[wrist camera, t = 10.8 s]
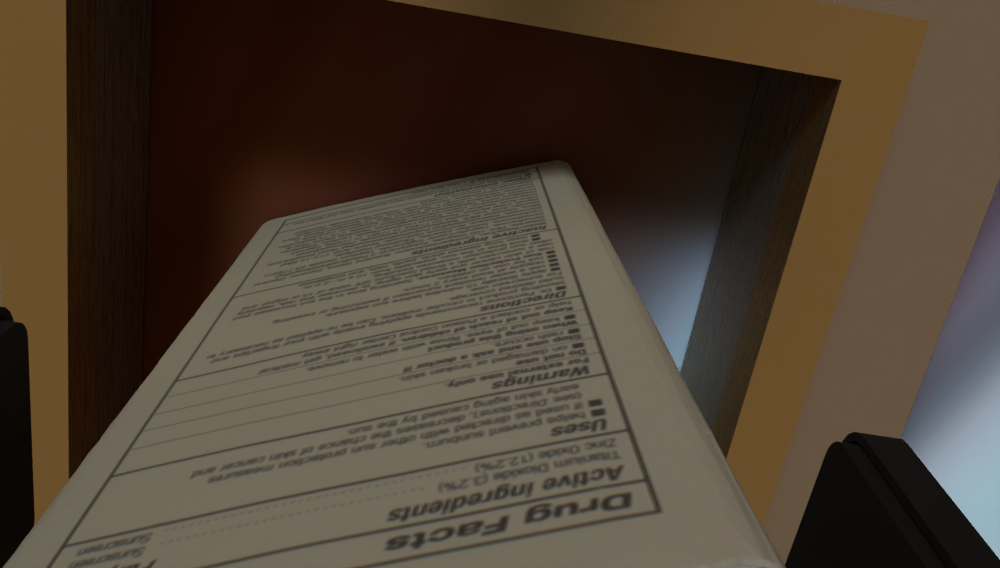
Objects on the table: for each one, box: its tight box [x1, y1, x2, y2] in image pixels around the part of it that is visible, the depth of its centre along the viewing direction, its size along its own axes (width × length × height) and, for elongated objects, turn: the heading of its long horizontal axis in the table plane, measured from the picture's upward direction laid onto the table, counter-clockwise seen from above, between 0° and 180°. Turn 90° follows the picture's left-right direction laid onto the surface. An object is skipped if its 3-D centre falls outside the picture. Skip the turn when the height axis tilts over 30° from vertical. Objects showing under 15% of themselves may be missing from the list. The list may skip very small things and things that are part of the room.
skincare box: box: [2, 160, 786, 568], centre depth 12 cm, size 6×4×12 cm
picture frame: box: [0, 0, 1000, 565], centre depth 16 cm, size 18×22×4 cm
